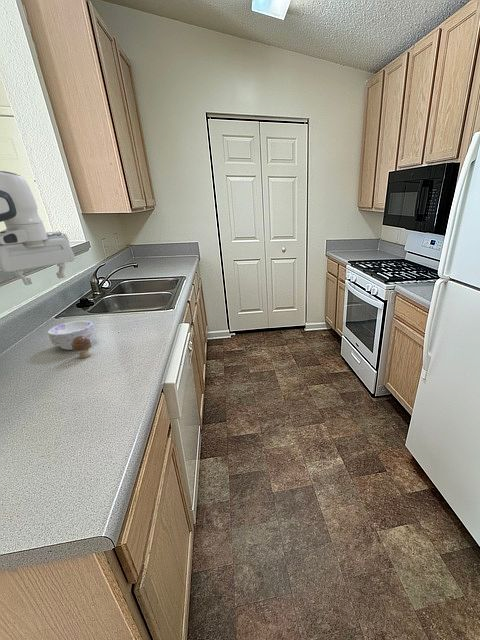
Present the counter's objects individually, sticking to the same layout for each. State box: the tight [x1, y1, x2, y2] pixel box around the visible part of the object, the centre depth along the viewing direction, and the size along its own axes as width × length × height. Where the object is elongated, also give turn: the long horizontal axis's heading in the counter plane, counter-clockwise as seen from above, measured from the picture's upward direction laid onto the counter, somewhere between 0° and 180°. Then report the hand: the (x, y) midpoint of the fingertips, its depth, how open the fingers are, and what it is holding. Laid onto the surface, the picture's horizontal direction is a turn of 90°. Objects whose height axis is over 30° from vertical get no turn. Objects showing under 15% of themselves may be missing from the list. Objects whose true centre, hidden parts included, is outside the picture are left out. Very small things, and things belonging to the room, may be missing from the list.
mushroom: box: [71, 336, 93, 359], centre depth 121 cm, size 6×6×8 cm
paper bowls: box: [47, 320, 97, 351], centre depth 130 cm, size 15×15×8 cm
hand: (45, 281), depth 104 cm, fingers open, 8 cm apart
